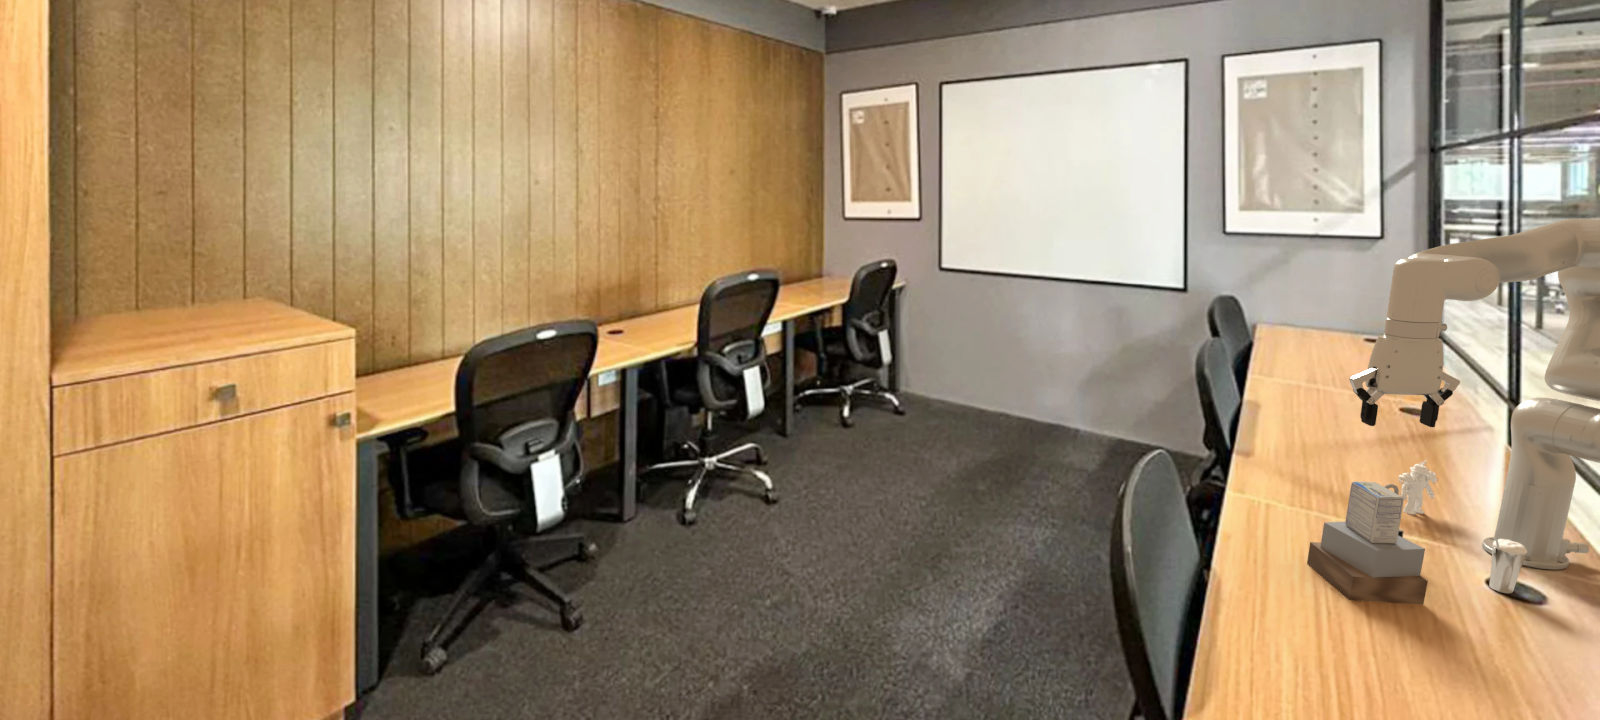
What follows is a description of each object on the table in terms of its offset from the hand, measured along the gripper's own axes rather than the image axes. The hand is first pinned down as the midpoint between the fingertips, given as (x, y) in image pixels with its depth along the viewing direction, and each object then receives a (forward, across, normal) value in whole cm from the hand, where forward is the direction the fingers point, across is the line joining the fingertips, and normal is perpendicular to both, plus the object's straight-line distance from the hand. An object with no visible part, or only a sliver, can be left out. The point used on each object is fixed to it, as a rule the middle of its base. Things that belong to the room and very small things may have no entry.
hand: (1397, 424), depth 140 cm
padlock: (+30, -5, -8) cm, 31 cm away
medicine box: (+20, +4, +4) cm, 20 cm away
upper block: (+24, +4, +4) cm, 25 cm away
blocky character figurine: (+30, -26, -34) cm, 53 cm away
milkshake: (+30, -19, +3) cm, 35 cm away
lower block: (+30, +4, +4) cm, 30 cm away
